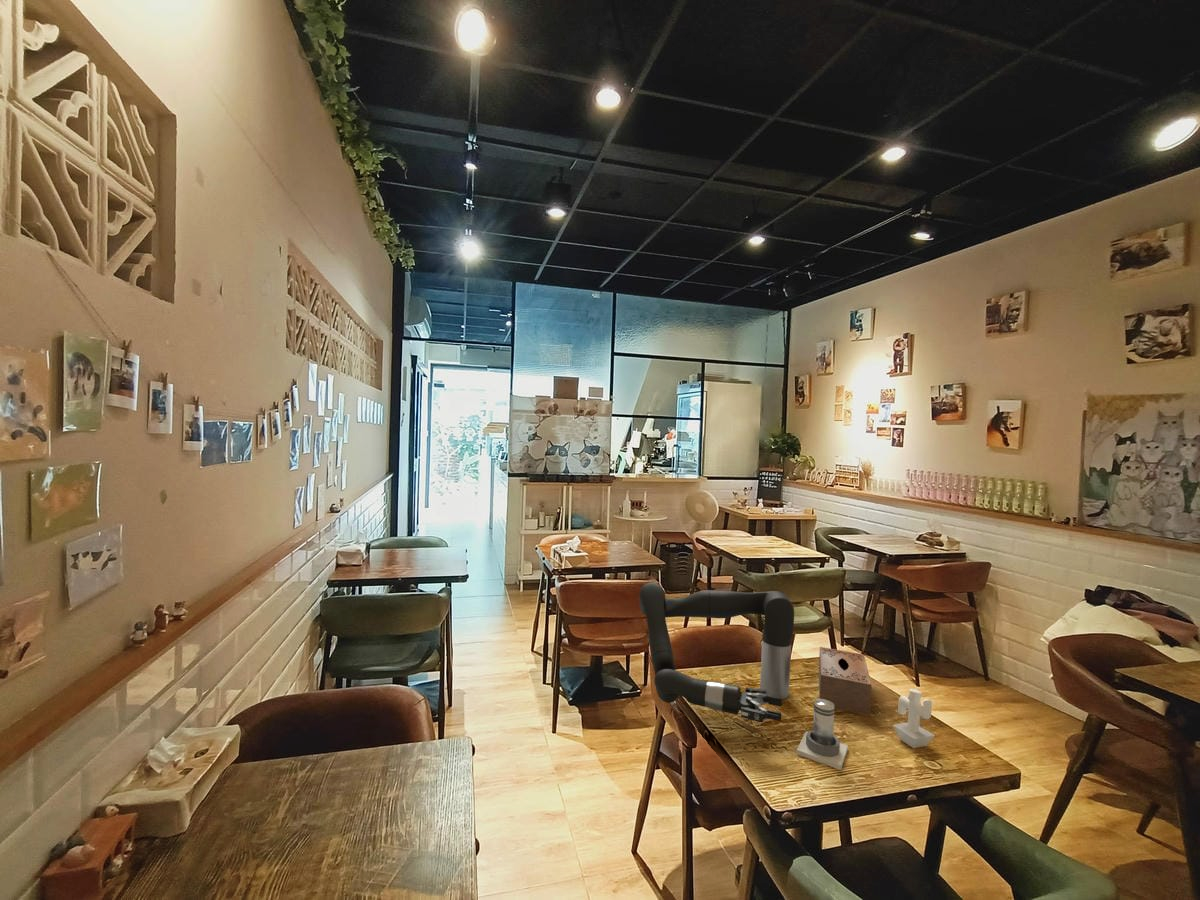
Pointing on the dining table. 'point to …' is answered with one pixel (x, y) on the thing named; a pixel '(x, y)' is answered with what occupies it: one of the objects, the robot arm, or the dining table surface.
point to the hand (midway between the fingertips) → (781, 709)
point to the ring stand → (823, 751)
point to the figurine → (914, 719)
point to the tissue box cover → (844, 680)
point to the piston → (823, 722)
